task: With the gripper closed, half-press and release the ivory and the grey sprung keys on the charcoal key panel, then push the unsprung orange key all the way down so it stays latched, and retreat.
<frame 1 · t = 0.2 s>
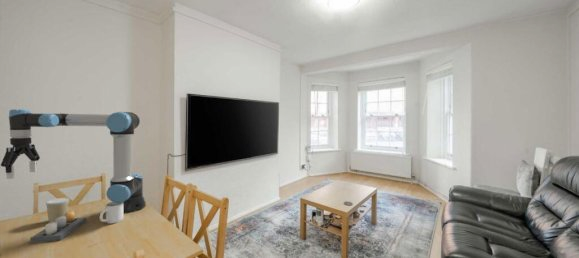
hand: (22, 175, 125), 28 cm above the table, fingers open, 13 cm apart
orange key: (69, 217, 126), point 5 cm above the table, slide at 0.0 cm
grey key: (61, 222, 120), point 5 cm above the table, slide at 0.0 cm
mug: (111, 222, 131), on the table
ivory key: (51, 228, 113), point 5 cm above the table, slide at 0.0 cm
coffee cup: (58, 220, 131), on the table
panel: (61, 231, 120), on the table
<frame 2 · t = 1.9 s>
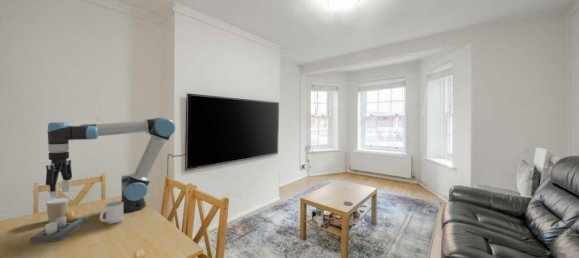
hand: (60, 194, 119), 20 cm above the table, fingers open, 7 cm apart
nothing on the table moved.
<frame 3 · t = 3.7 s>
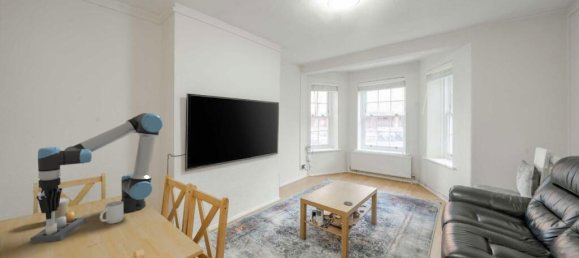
hand: (50, 224, 113), 7 cm above the table, fingers closed
ivory key: (51, 229, 113), point 4 cm above the table, slide at 0.4 cm, touching gripper
everything else where it was.
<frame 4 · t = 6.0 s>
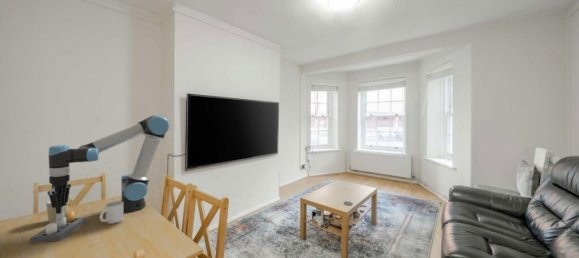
hand: (60, 218, 119), 7 cm above the table, fingers closed
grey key: (61, 223, 120), point 4 cm above the table, slide at 0.4 cm, touching gripper
ivory key: (51, 229, 113), point 4 cm above the table, slide at 0.4 cm
everything else where it was.
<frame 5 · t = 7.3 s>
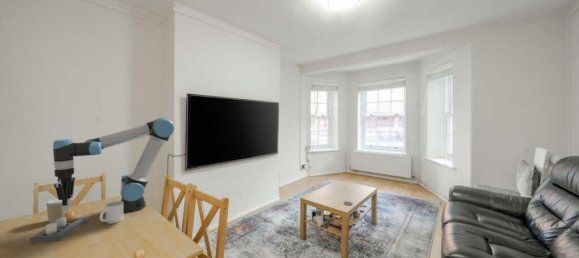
hand: (66, 210, 123), 10 cm above the table, fingers closed
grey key: (61, 223, 120), point 4 cm above the table, slide at 0.4 cm
everything else where it was.
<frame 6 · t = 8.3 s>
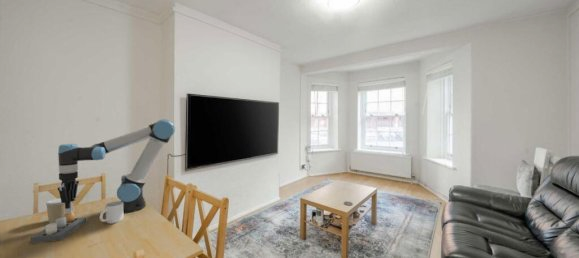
hand: (69, 213, 126), 7 cm above the table, fingers closed
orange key: (69, 217, 126), point 4 cm above the table, slide at 0.5 cm, touching gripper
everything else where it was.
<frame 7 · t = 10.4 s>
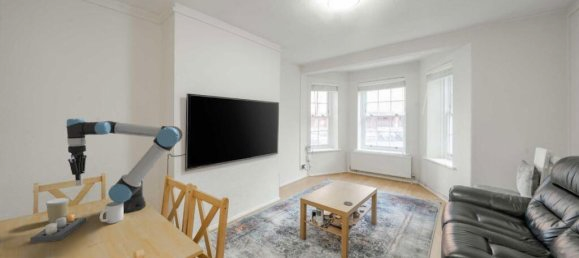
hand: (79, 185, 131), 21 cm above the table, fingers closed
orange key: (69, 220, 126), point 3 cm above the table, slide at 1.7 cm
everything else where it was.
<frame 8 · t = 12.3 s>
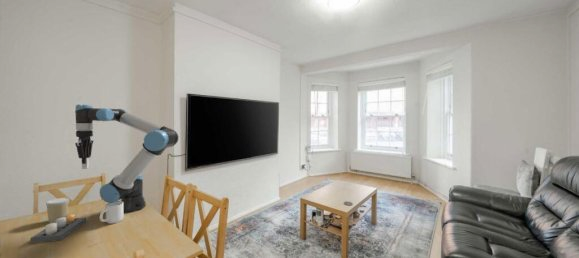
hand: (85, 168, 137), 29 cm above the table, fingers closed
nothing on the table moved.
at the end: ivory key slide at 0.4 cm; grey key slide at 0.4 cm; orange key slide at 1.7 cm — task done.
